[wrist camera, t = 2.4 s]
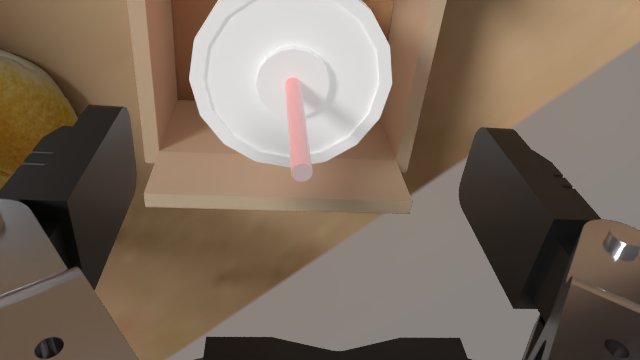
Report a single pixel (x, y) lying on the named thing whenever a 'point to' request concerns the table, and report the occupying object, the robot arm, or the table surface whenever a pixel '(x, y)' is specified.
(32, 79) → the bread roll
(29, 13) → the table surface
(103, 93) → the table surface
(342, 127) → the beverage cup
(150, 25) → the carton
